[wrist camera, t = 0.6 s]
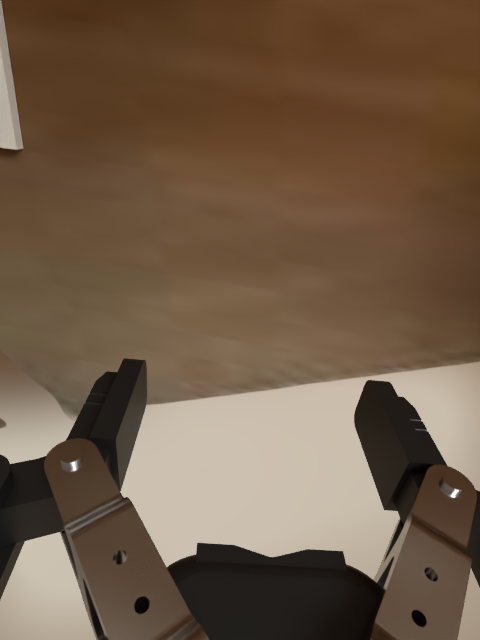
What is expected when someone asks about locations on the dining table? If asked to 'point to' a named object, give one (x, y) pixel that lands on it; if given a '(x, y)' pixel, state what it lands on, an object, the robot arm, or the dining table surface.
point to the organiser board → (7, 97)
